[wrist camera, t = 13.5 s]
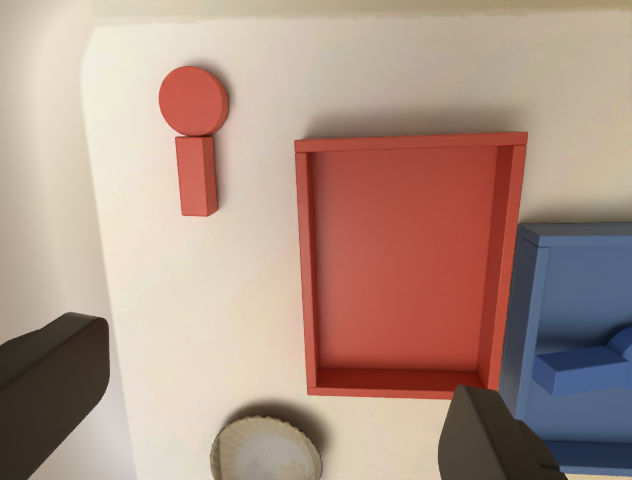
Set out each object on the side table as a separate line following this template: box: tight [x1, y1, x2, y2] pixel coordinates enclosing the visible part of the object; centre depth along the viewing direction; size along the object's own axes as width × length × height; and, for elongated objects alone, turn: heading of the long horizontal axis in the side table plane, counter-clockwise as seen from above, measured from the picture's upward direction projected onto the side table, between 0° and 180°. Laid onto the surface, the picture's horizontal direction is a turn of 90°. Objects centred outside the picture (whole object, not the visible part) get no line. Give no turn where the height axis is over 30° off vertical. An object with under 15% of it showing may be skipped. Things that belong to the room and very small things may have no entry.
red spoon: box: [159, 66, 228, 217], centre depth 21 cm, size 8×4×2 cm, turn 179°
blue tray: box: [498, 222, 632, 477], centre depth 22 cm, size 15×11×3 cm
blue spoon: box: [532, 327, 632, 397], centre depth 21 cm, size 8×4×2 cm, turn 92°
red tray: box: [294, 132, 528, 400], centre depth 21 cm, size 15×11×3 cm
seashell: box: [210, 415, 322, 480], centre depth 26 cm, size 8×3×8 cm
